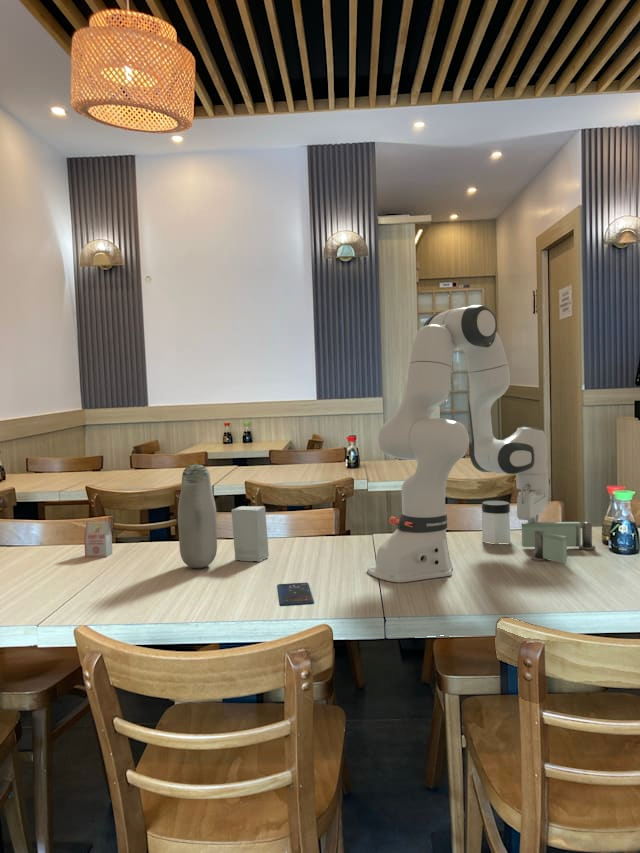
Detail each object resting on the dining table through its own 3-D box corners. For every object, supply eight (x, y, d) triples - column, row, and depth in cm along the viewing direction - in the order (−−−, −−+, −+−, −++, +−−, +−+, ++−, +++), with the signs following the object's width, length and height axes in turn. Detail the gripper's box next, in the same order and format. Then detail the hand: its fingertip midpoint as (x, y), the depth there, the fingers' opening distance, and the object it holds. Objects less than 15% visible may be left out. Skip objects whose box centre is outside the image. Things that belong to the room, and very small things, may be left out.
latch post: (542, 562, 162) (541, 534, 162) (527, 559, 166) (527, 531, 166) (555, 559, 165) (555, 531, 165) (541, 555, 169) (541, 528, 169)
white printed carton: (91, 553, 186) (90, 521, 186) (112, 554, 185) (111, 521, 185) (85, 557, 183) (83, 523, 182) (106, 557, 182) (105, 523, 181)
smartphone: (279, 604, 134) (277, 583, 149) (279, 607, 134) (277, 587, 149) (314, 601, 135) (308, 582, 150) (314, 605, 135) (308, 585, 150)
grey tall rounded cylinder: (175, 565, 170) (172, 464, 168) (211, 560, 174) (208, 461, 173) (185, 574, 161) (181, 467, 160) (223, 568, 166) (219, 464, 164)
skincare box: (269, 557, 176) (267, 506, 175) (258, 563, 170) (257, 509, 169) (243, 555, 179) (242, 504, 178) (232, 560, 173) (230, 508, 173)
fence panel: (563, 563, 158) (562, 537, 158) (542, 558, 164) (542, 533, 164) (567, 562, 159) (566, 536, 159) (546, 557, 165) (546, 532, 165)
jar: (483, 538, 192) (483, 499, 192) (511, 539, 190) (510, 500, 189) (481, 544, 184) (480, 504, 183) (509, 546, 181) (508, 505, 181)
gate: (523, 547, 176) (523, 523, 176) (521, 545, 178) (521, 522, 178) (580, 546, 175) (580, 523, 175) (578, 545, 177) (578, 521, 177)
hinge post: (589, 551, 173) (588, 524, 173) (575, 548, 177) (575, 522, 176) (598, 548, 175) (598, 522, 175) (585, 545, 179) (584, 520, 179)
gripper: (533, 488, 169) (534, 538, 169) (551, 478, 185) (553, 523, 186) (510, 487, 172) (511, 536, 173) (530, 477, 189) (531, 521, 190)
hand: (533, 529), depth 180 cm, fingers closed
